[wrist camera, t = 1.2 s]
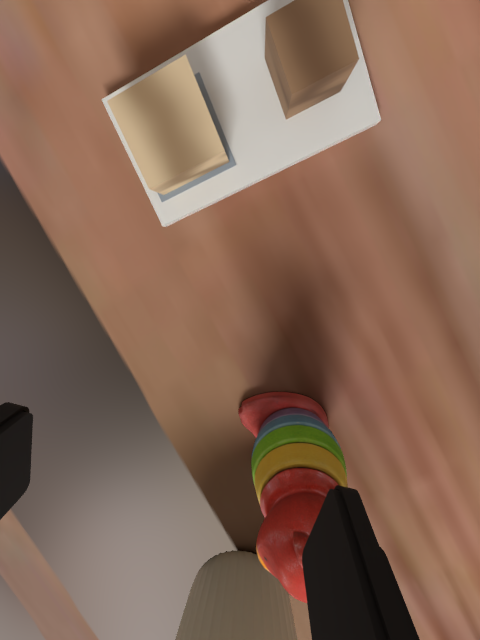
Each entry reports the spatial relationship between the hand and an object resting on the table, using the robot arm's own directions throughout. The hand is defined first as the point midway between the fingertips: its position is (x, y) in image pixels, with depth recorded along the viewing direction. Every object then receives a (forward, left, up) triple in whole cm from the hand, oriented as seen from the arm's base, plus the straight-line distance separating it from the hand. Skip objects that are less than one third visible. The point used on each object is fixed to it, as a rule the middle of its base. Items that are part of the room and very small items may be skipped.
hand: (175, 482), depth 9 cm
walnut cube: (-14, -16, -23) cm, 32 cm away
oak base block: (-2, -16, -23) cm, 28 cm away
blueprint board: (-8, -16, -24) cm, 30 cm away
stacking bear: (0, +17, -25) cm, 30 cm away
